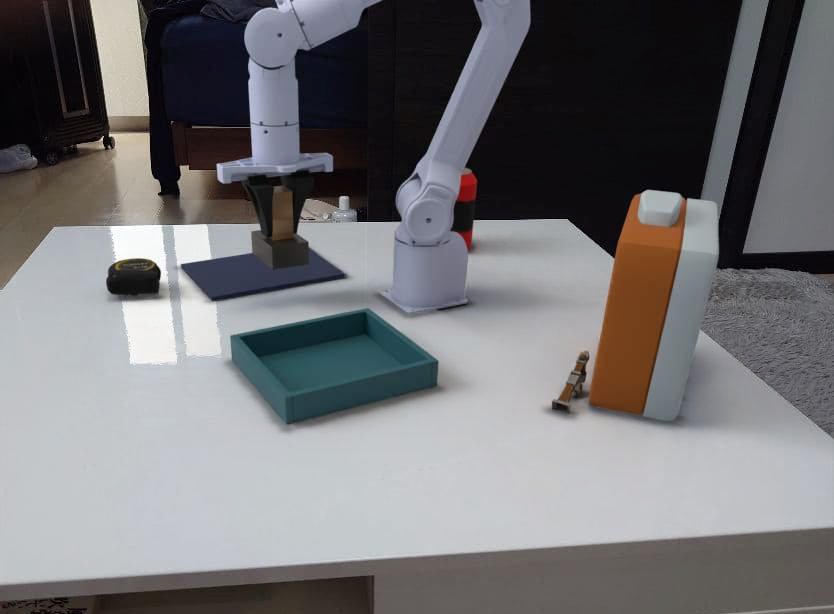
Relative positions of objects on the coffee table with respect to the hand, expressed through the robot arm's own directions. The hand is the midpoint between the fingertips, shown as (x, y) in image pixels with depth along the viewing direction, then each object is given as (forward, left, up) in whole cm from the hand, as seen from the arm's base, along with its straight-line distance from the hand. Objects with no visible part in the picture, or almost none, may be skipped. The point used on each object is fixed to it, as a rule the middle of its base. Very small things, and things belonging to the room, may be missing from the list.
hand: (279, 233), depth 99 cm
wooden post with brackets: (-17, +38, -10) cm, 42 cm away
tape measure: (+16, -11, -10) cm, 22 cm away
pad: (-2, -11, -9) cm, 15 cm away
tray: (+3, +22, -9) cm, 24 cm away
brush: (0, 0, -3) cm, 3 cm away
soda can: (-33, -9, -10) cm, 35 cm away
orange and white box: (-27, +38, -10) cm, 47 cm away
